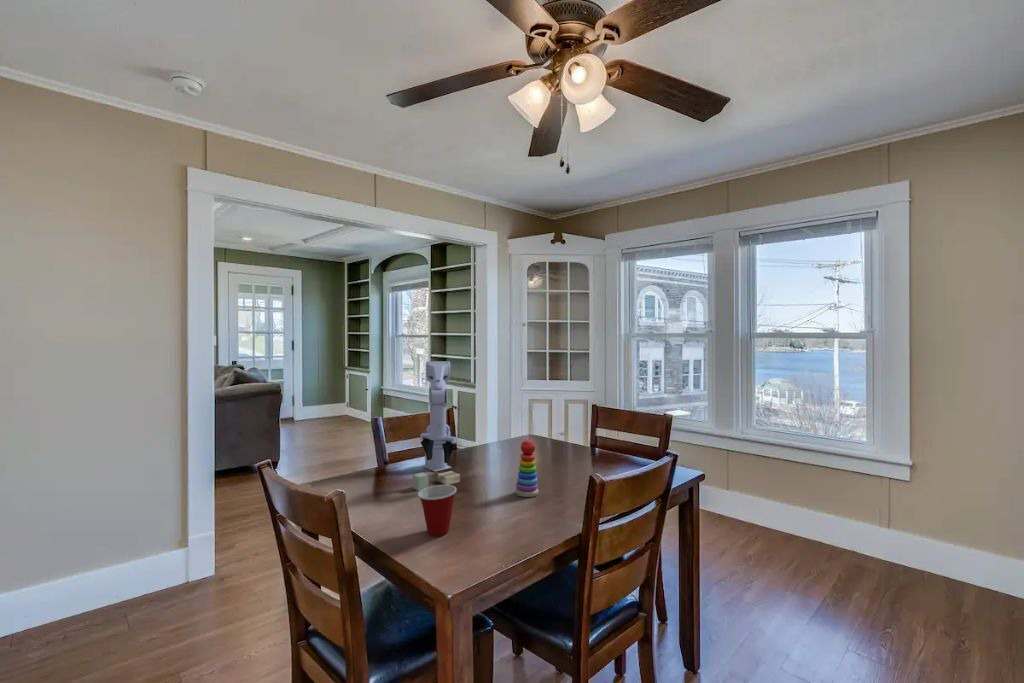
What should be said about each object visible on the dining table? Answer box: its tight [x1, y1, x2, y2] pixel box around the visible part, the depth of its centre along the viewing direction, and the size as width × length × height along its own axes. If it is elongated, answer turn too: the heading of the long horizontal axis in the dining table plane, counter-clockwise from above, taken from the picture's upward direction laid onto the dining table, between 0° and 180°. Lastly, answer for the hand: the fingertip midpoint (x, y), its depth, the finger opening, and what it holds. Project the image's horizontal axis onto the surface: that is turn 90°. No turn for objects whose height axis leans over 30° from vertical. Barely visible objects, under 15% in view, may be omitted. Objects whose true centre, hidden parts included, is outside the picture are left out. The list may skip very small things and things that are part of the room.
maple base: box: [437, 470, 461, 485], centre depth 174 cm, size 6×6×3 cm
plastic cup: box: [417, 484, 457, 538], centre depth 130 cm, size 11×11×12 cm
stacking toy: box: [515, 439, 540, 498], centre depth 160 cm, size 8×8×19 cm
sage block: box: [412, 472, 429, 492], centre depth 166 cm, size 4×4×5 cm
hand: (438, 461), depth 167 cm, fingers open, 7 cm apart
